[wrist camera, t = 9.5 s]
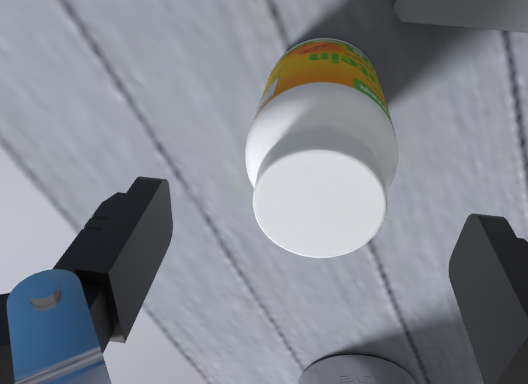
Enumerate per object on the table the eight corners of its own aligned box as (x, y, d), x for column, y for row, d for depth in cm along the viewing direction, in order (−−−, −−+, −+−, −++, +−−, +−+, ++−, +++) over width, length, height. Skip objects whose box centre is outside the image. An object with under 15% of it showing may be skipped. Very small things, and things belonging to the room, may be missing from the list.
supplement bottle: (401, 65, 19) (455, 174, 11) (344, 157, 22) (354, 296, 14) (295, 14, 18) (271, 91, 10) (251, 116, 21) (205, 237, 13)
